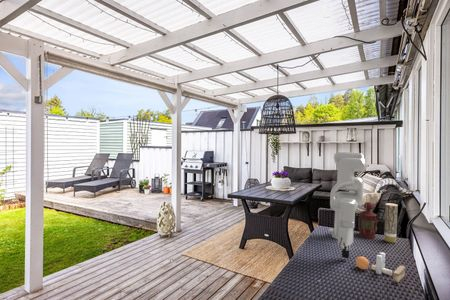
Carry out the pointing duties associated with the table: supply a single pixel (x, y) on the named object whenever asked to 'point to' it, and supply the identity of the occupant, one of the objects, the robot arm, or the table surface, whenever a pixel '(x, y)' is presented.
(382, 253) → the back pin left
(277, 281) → the table surface
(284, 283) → the table surface
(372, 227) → the lantern
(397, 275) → the back wall
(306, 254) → the table surface
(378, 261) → the back pin right
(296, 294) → the table surface
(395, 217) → the paper tube
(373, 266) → the front pin
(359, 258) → the ball
